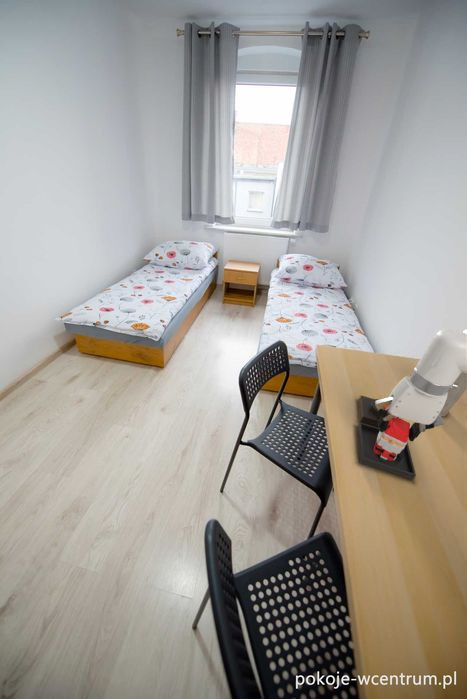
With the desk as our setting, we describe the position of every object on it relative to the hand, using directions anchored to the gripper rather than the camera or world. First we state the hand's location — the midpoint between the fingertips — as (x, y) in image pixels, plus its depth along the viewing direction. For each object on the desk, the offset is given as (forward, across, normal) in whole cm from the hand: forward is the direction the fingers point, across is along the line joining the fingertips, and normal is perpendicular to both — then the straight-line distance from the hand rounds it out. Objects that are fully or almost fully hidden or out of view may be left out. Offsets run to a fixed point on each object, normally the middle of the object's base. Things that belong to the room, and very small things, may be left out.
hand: (395, 432), depth 73 cm
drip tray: (+8, 0, 0) cm, 8 cm away
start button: (+4, 0, -14) cm, 15 cm away
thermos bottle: (+9, -20, -27) cm, 35 cm away
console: (+8, 0, -14) cm, 16 cm away
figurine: (+8, -1, 0) cm, 8 cm away
